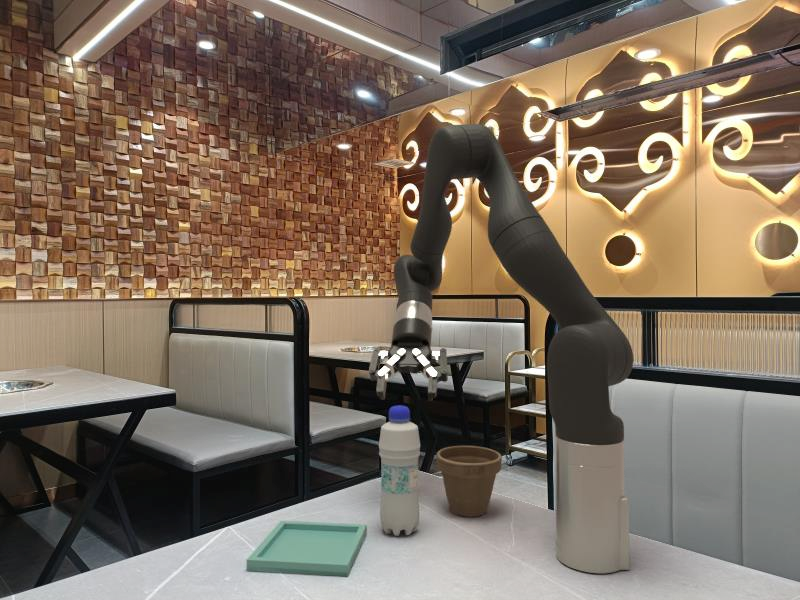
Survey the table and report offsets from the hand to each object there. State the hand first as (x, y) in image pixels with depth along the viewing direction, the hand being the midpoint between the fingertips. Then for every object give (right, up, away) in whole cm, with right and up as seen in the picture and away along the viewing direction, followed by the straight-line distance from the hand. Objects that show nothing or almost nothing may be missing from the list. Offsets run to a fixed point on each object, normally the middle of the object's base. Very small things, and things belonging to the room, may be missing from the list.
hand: (405, 397), depth 99 cm
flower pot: (+11, -20, 0) cm, 23 cm away
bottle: (-1, -20, -9) cm, 22 cm away
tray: (-14, -20, -16) cm, 29 cm away
